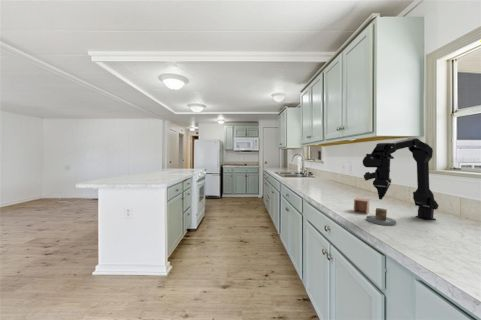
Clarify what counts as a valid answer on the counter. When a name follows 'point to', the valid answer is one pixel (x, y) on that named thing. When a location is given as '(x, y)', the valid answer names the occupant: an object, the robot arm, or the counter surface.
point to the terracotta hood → (361, 204)
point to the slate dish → (381, 221)
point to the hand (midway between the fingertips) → (381, 198)
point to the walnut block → (381, 214)
